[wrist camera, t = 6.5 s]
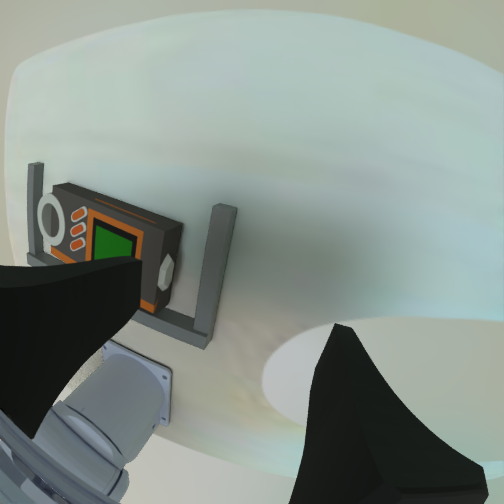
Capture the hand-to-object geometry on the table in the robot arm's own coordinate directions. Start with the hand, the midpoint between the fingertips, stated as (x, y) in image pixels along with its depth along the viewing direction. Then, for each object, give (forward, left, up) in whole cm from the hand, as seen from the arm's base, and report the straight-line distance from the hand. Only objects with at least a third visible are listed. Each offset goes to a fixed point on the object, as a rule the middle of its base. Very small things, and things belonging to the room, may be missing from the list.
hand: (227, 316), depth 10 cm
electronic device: (-3, +14, -10) cm, 17 cm away
